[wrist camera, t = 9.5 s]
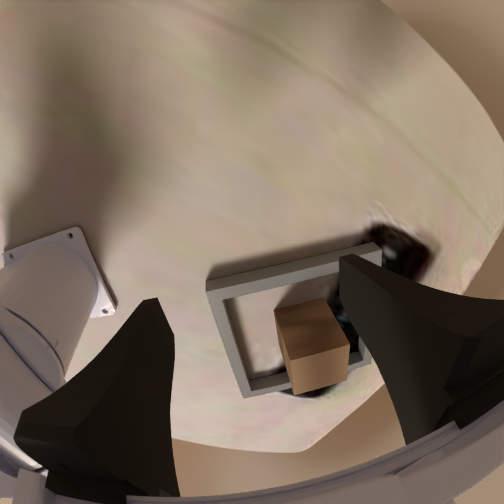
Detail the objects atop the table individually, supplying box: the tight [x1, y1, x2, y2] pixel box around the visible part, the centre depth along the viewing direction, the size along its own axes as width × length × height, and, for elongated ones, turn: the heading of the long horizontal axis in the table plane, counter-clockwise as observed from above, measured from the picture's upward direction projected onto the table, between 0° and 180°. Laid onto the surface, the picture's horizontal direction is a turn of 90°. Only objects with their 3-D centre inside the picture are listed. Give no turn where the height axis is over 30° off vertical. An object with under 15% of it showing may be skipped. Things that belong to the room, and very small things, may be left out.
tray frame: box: [206, 242, 382, 398], centre depth 26 cm, size 14×14×2 cm
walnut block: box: [274, 298, 350, 395], centre depth 23 cm, size 4×4×6 cm
